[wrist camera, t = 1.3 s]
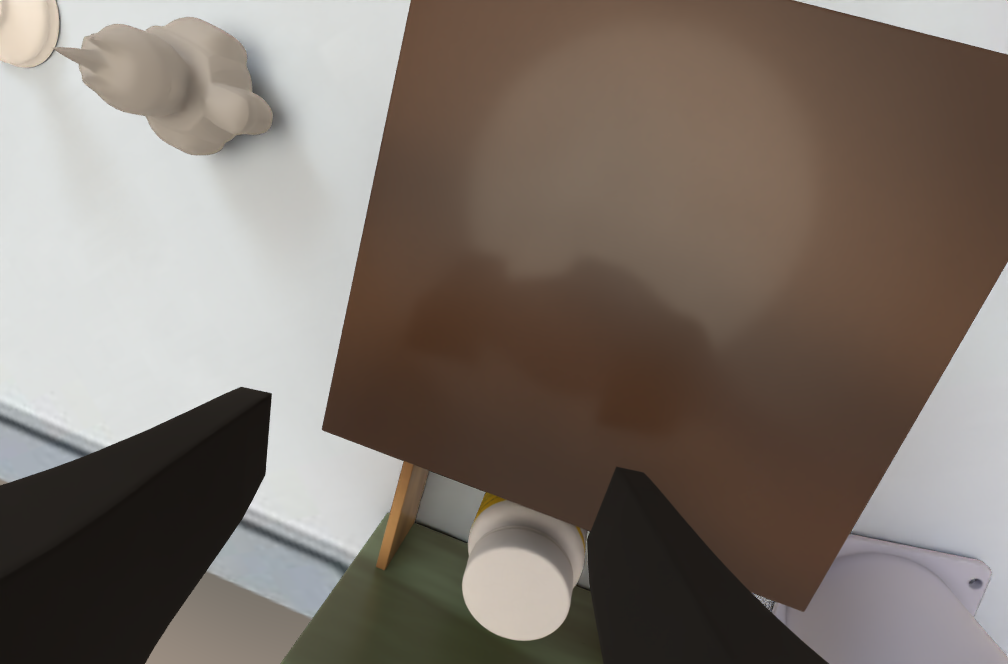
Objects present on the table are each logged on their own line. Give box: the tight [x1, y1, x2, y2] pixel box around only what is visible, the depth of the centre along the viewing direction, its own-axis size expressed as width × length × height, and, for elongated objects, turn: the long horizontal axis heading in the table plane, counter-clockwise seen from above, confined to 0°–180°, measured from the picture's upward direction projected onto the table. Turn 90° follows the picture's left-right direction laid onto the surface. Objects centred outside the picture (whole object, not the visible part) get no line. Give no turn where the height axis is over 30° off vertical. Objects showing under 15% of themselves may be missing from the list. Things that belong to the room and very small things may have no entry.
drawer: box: [281, 461, 603, 664], centre depth 22 cm, size 15×15×10 cm
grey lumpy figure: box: [53, 17, 273, 155], centre depth 22 cm, size 5×7×8 cm
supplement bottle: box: [462, 492, 587, 641], centre depth 23 cm, size 5×5×8 cm
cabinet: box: [322, 0, 1008, 612], centre depth 18 cm, size 14×15×11 cm
